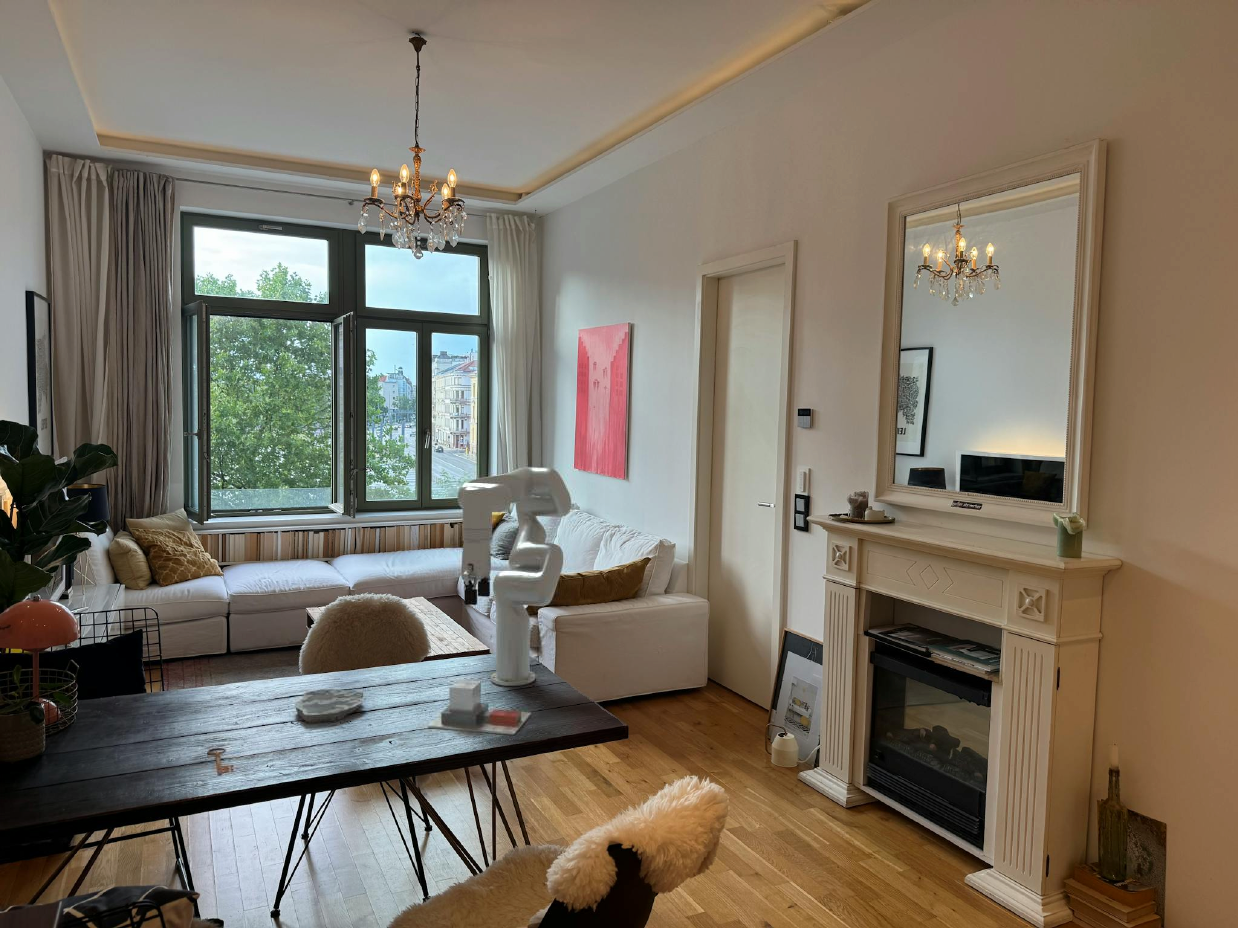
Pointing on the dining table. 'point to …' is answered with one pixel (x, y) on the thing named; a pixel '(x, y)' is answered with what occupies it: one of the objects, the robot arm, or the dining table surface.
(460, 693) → the light grey cube
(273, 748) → the dining table surface
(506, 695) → the dining table surface
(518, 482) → the robot arm
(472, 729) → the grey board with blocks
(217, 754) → the key
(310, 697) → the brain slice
